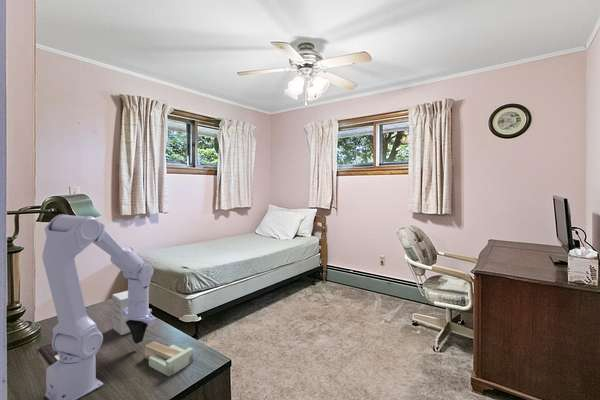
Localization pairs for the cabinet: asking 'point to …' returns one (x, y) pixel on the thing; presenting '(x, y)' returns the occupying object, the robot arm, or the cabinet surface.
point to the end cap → (172, 361)
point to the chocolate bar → (50, 353)
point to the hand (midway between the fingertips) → (138, 341)
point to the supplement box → (120, 312)
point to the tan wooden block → (159, 351)
